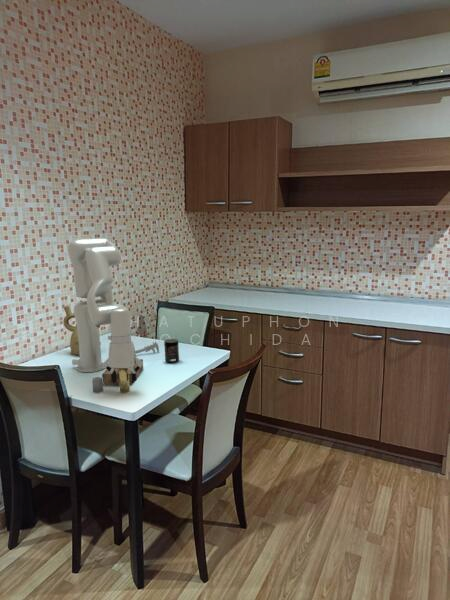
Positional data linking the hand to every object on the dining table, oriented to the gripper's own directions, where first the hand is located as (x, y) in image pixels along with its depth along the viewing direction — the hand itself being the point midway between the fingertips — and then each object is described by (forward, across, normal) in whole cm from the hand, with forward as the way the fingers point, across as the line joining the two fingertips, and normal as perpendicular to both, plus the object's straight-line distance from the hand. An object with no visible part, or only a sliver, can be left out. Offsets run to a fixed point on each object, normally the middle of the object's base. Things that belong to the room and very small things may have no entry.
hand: (124, 381), depth 186 cm
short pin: (+4, -11, 0) cm, 12 cm away
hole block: (+4, -5, +16) cm, 17 cm away
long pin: (+4, 0, 0) cm, 4 cm away
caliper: (+4, -7, +49) cm, 50 cm away
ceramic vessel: (+4, -37, +54) cm, 66 cm away
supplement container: (+4, +12, +38) cm, 40 cm away
